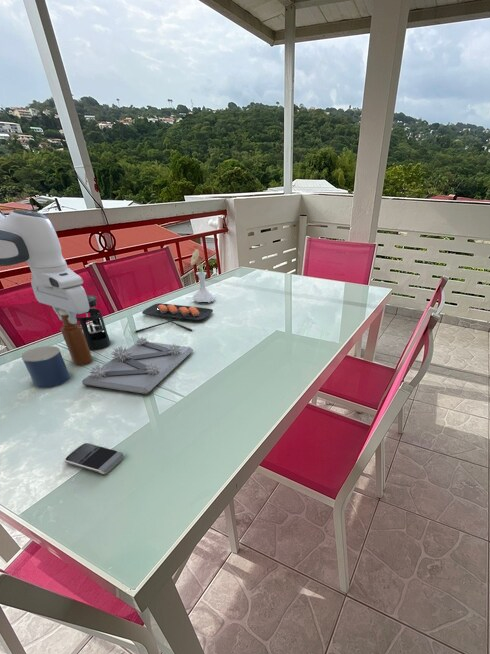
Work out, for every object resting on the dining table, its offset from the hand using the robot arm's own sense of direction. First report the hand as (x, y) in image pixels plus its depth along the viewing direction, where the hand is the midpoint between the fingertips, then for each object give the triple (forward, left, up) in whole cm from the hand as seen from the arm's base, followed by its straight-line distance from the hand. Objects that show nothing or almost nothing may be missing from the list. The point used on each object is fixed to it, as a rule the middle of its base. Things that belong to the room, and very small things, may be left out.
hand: (68, 321), depth 102 cm
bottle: (0, 0, -14) cm, 14 cm away
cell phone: (+44, -28, -14) cm, 54 cm away
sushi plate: (-3, +42, -14) cm, 44 cm away
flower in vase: (-8, +70, -14) cm, 72 cm away
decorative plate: (+20, +7, -14) cm, 25 cm away
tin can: (+3, -12, -14) cm, 19 cm away
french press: (-8, +11, -14) cm, 20 cm away
